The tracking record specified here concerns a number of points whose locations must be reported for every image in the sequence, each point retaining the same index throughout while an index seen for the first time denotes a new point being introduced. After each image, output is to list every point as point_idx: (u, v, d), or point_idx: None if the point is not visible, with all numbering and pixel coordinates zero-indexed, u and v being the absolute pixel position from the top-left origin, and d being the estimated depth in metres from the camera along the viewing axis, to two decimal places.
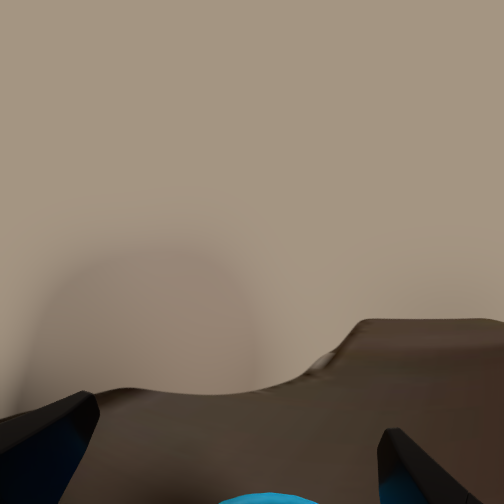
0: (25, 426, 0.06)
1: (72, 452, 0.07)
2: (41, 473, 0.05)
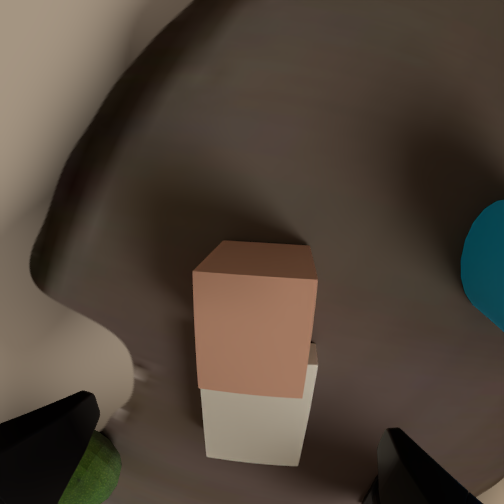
0: (25, 426, 0.06)
1: (72, 452, 0.07)
2: (41, 473, 0.05)
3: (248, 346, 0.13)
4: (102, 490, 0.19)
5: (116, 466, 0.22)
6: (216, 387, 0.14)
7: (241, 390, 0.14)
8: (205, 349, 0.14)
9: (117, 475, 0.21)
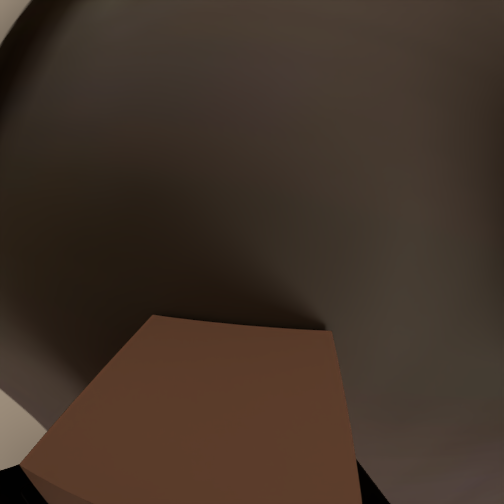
0: None
1: None
2: None
3: None
4: None
5: None
6: None
7: None
8: None
9: None
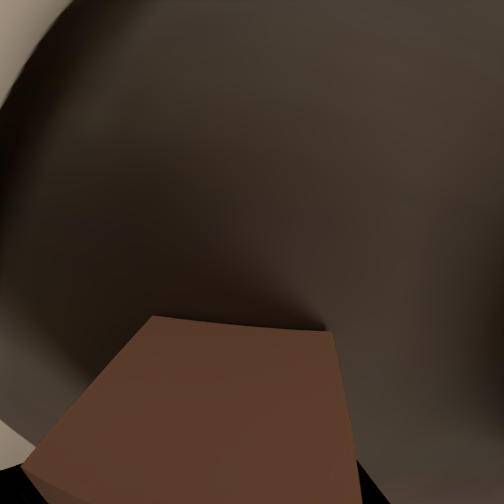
0: None
1: None
2: None
3: None
4: None
5: None
6: None
7: None
8: None
9: None
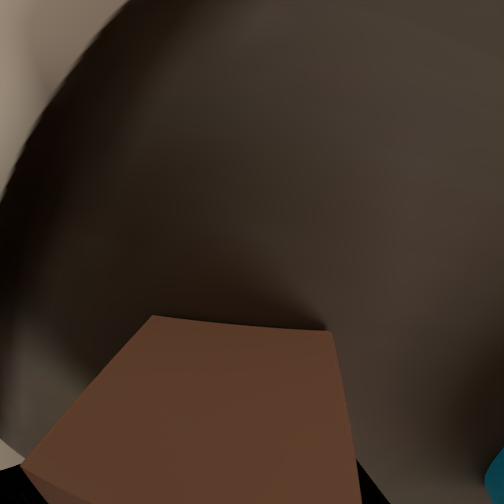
0: None
1: None
2: None
3: None
4: None
5: None
6: None
7: None
8: None
9: None
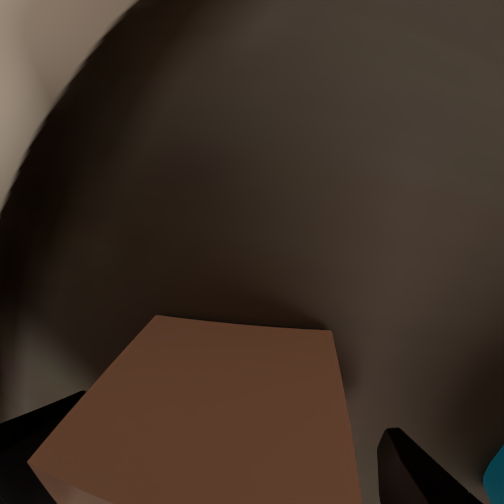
0: (25, 426, 0.06)
1: None
2: None
3: None
4: None
5: None
6: None
7: None
8: None
9: None
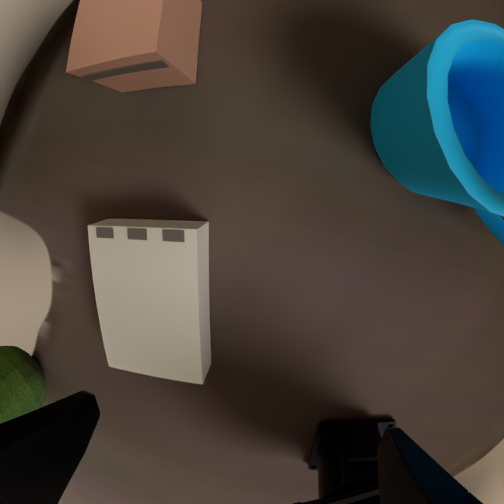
0: (25, 426, 0.06)
1: (72, 452, 0.07)
2: (41, 473, 0.05)
3: (112, 12, 0.10)
4: (17, 407, 0.18)
5: (37, 386, 0.21)
6: (80, 64, 0.11)
7: (100, 59, 0.11)
8: (80, 29, 0.11)
9: (37, 397, 0.20)
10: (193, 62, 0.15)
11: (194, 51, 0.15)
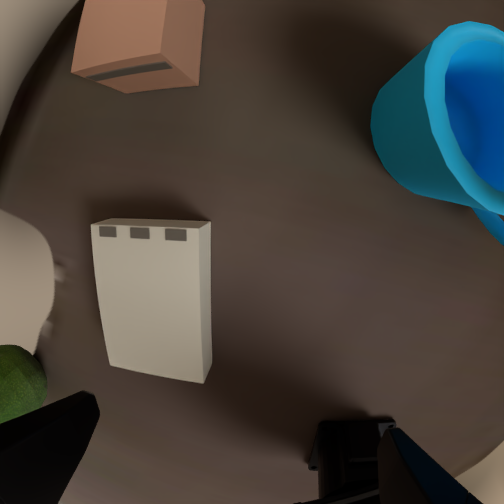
0: (25, 426, 0.06)
1: (72, 452, 0.07)
2: (41, 473, 0.05)
3: (117, 14, 0.11)
4: (18, 406, 0.18)
5: (38, 385, 0.21)
6: (85, 64, 0.11)
7: (105, 60, 0.11)
8: (84, 30, 0.11)
9: (37, 396, 0.21)
10: (196, 64, 0.16)
11: (197, 53, 0.16)
